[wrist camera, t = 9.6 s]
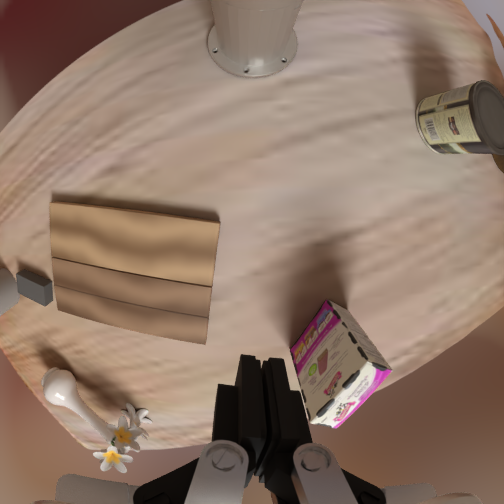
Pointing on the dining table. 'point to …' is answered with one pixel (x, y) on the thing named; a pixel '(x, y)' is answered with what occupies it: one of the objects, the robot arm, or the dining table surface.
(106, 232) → the plank
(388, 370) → the candy bar box
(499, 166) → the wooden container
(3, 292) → the cup
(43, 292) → the block
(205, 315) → the laid board
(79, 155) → the dining table surface
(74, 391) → the flower vase
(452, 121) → the coffee can
